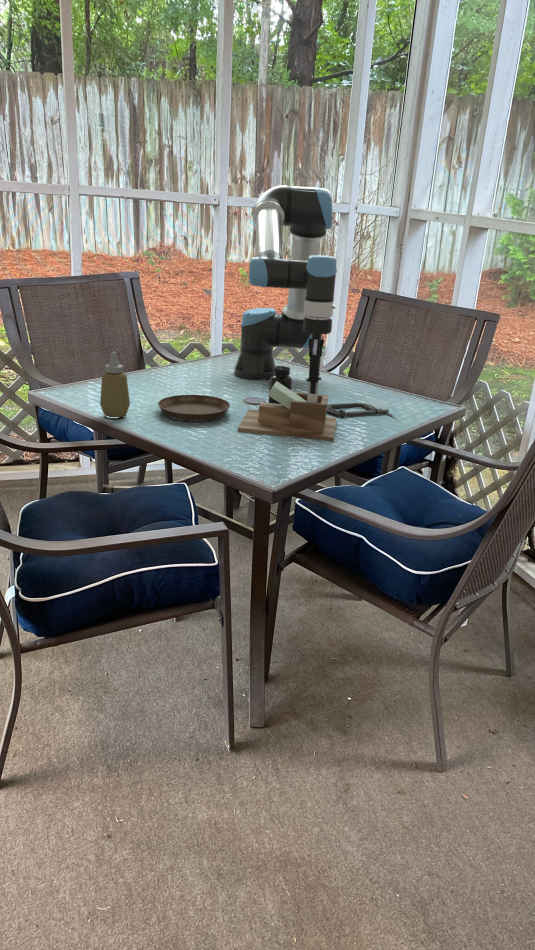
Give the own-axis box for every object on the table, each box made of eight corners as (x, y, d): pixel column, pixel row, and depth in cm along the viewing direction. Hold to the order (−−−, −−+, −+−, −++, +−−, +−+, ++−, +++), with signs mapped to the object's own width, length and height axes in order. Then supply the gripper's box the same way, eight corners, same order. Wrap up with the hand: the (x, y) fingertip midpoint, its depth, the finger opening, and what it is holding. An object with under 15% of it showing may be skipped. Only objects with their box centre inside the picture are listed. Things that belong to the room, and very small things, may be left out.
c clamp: (373, 405, 214) (374, 397, 213) (399, 422, 199) (401, 413, 198) (315, 407, 207) (316, 399, 206) (337, 424, 192) (338, 415, 191)
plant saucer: (152, 405, 198) (152, 394, 197) (219, 402, 205) (220, 392, 203) (164, 426, 180) (164, 415, 179) (238, 423, 187) (238, 412, 186)
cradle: (248, 412, 196) (249, 384, 193) (336, 421, 194) (339, 392, 191) (237, 431, 180) (239, 400, 177) (333, 440, 177) (336, 410, 174)
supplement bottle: (288, 410, 201) (291, 371, 197) (266, 407, 202) (268, 368, 198) (291, 404, 207) (294, 366, 203) (270, 401, 208) (273, 363, 204)
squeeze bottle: (116, 422, 180) (115, 357, 173) (94, 416, 184) (91, 352, 177) (136, 415, 187) (135, 352, 180) (114, 410, 190) (112, 347, 183)
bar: (270, 389, 187) (276, 381, 186) (312, 416, 188) (318, 408, 187) (268, 395, 181) (273, 386, 180) (310, 423, 183) (316, 414, 181)
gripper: (331, 321, 168) (324, 411, 177) (333, 314, 180) (326, 399, 189) (301, 320, 169) (296, 409, 178) (305, 313, 181) (300, 397, 190)
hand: (312, 404), depth 183 cm, fingers closed
